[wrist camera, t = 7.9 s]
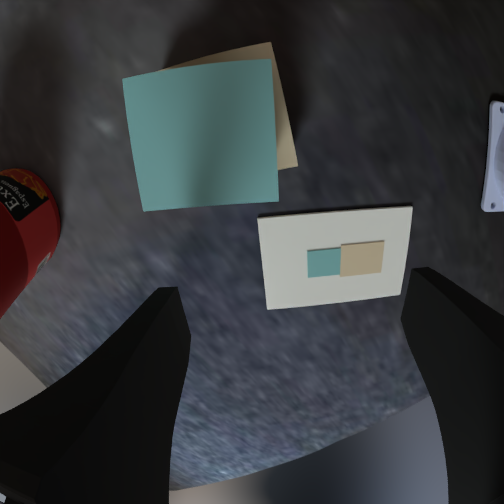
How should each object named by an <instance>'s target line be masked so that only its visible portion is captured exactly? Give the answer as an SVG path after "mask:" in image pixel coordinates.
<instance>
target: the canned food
mask: <svg viewBox="0 0 504 504" xmlns="http://www.w3.org/2000/svg"><path fill="white" fill-rule="evenodd" d="M60 227H61V226H60V216H59V211H58V207H57V205H56V202H55V199H54V197H53V195H52V193H51V191H50V190H49V188H48V187H47V186H46V184H45V183H44V182H43V181H42V180H41V179H40V178H39V177H38V176H37V175H35V174H34V173H32V172H31V171H28V170H25V169H17V168H16V169H7V170H3V171H1V172H0V319H1V317H2V316H3V315H4V313H5V312H6V311H7V309H8V308H9V307H10V306H11V304H12V303H13V302H14V300H15V299H16V298H17V297H18V295H19V294H20V293H21V292H22V291H23V289H24V288H25V287H26V286H27V285H28V283H29V282H30V281H31V280H32V279H33V277H34V276H35V275H36V274H37V273H38V272H39V270H40V269H41V268H42V267H43V266H44V265H45V264H46V262H47V261H48V260H49V259H50V258H51V257H52V255H53V253H54V251H55V249H56V246H57V244H58V240H59V237H60Z"/></svg>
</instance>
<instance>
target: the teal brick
mask: <svg viewBox="0 0 504 504" xmlns="http://www.w3.org/2000/svg"><path fill="white" fill-rule="evenodd" d="M122 80H123V89H124V98H125V105H126V113H127V120H128V127H129V134H130V141H131V147H132V153H133V159H134V165H135V170H136V176H137V181H138V186H139V192H140V197H141V202H142V206H143V211H154V210H165V209H176V208H187V207H200V206H213V205H227V204H241V203H258V202H276V201H279V194H278V170H277V149H276V129H275V111H274V94H273V78H272V63H271V59H258V60H242V61H230V62H220V63H211V64H202V65H195V66H188V67H181V68H175V69H169V70H163V71H158V72H153V73H147V74H143V75H138V76H133V77H129V78H125V79H122Z"/></svg>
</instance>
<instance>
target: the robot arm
mask: <svg viewBox="0 0 504 504" xmlns="http://www.w3.org/2000/svg"><path fill="white" fill-rule="evenodd" d="M500 107H501V112H500ZM492 203H493V204H492ZM491 204H492V206H491ZM481 208H482V209H483V210H484V211H485V212H496V211H504V103H503V102H498V101H492V102H491V103H490V116H489V139H488V153H487V164H486V173H485V181H484V189H483V196H482V202H481ZM401 322H402V325H403V328H404V332H405V335H406V338H407V342H408V345H409V347H410V349H411V352H412V354H413V356H414V359H415V361H416V363H417V366H418V368H419V370H420V372H421V375H422V377H423V379H424V382H425V384H426V387H427V389H428V391H429V394H430V396H431V399H432V402H433V404H434V407H435V410H436V414H437V418H438V422H439V427H440V431H441V435H442V441H443V446H444V452H445V458H446V466H447V476H448V495H449V504H504V316H503V315H501V314H500V313H498V312H497V311H495V310H493V309H492V308H490V307H489V306H487V305H486V304H484V303H483V302H481V301H480V300H478V299H477V298H475V297H474V296H473V295H471V294H470V293H468V292H467V291H465V290H464V289H462V288H461V287H459V286H458V285H456V284H455V283H454V282H452V281H451V280H449V279H448V278H446V277H444V276H443V275H441V274H440V273H438V272H436V271H435V270H433V269H431V268H429V267H423V268H414V269H412V270H411V275H410V280H409V285H408V289H407V294H406V298H405V303H404V307H403V311H402V315H401ZM190 342H191V334H190V330H189V327H188V323H187V320H186V316H185V313H184V309H183V306H182V302H181V298H180V295H179V291H178V287H161V288H158V289H157V290H156V291H154V292H153V293H152V294H151V295H150V296H149V297H148V299H147V300H146V301H145V302H144V303H143V304H142V305H141V306H140V307H139V308H138V309H137V310H136V311H135V312H134V313H133V314H132V315H131V316H130V317H129V318H128V319H127V320H126V321H125V322H124V323H123V324H122V326H121V327H120V328H119V329H118V330H117V331H116V332H114V333H113V334H112V335H111V336H110V337H109V338H108V339H107V340H106V341H105V342H104V343H103V344H102V345H101V346H100V347H99V348H98V349H97V350H96V351H95V352H93V353H92V354H91V355H90V356H89V357H88V358H87V359H85V360H84V361H83V362H82V363H81V364H79V365H78V366H77V367H76V368H74V369H73V370H72V371H71V372H69V373H68V374H67V375H65V376H64V377H62V378H61V379H60V380H58V381H57V382H55V383H54V384H52V385H51V386H49V387H48V388H46V389H45V390H44V391H42V392H41V393H39V394H38V395H36V396H34V397H32V398H31V399H29V400H27V401H26V402H24V403H22V404H20V405H18V406H17V407H15V408H13V409H11V410H9V411H7V412H5V413H2V414H0V493H1V494H3V495H5V496H6V500H5V503H3V502H1V501H0V504H169V474H170V458H171V447H172V436H173V430H174V424H175V419H176V415H177V411H178V406H179V402H180V398H181V393H182V389H183V385H184V380H185V376H186V372H187V367H188V362H189V353H190Z"/></svg>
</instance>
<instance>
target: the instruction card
mask: <svg viewBox="0 0 504 504" xmlns="http://www.w3.org/2000/svg"><path fill="white" fill-rule="evenodd" d="M412 209H413V207H412V206H400V207H384V208H369V209H354V210H341V211H328V212H315V213H303V214H292V215H280V216H269V217H259V218H257V220H258V229H259V238H260V247H261V256H262V265H263V274H264V284H265V293H266V302H267V310H270V309H281V308H292V307H302V306H312V305H321V304H330V303H339V302H348V301H356V300H364V299H372V298H379V297H387V296H394V295H400V292H401V287H402V281H403V276H404V270H405V264H406V257H407V250H408V243H409V236H410V227H411V219H412Z"/></svg>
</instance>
